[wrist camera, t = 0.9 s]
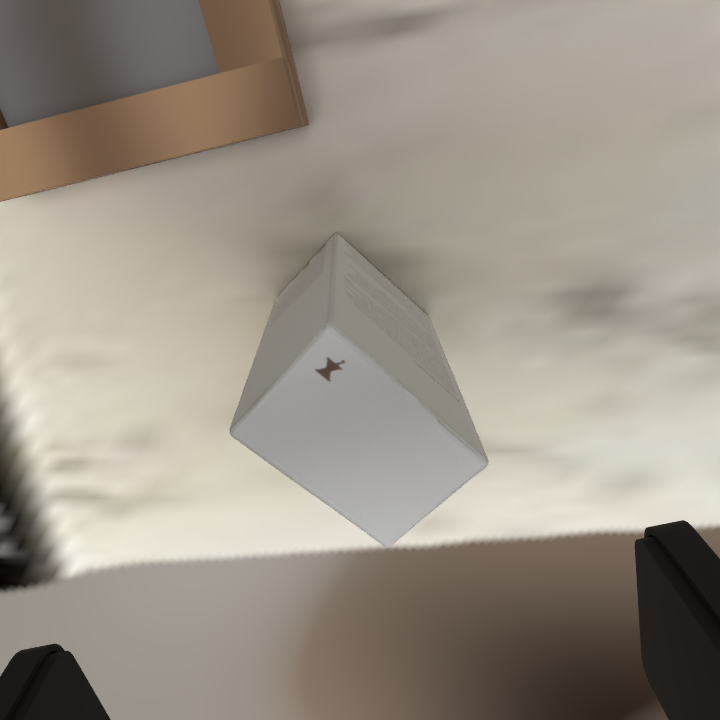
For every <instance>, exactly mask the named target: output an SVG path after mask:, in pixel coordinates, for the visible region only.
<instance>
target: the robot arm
mask: <svg viewBox="0 0 720 720" xmlns="http://www.w3.org/2000/svg"><path fill="white" fill-rule="evenodd" d="M635 556H636V573H637V591H638V606H639V624H640V638H641V639H640V640H641V656H642V664H643V667H644V671H645V674H646V676H647V679H648V681H649V683H650V686H651V687H652V689H653V691H654V693H655V695H656V697H657V699H658V700H659V702H660V704H661V706H662V708H663V709H664V712H665V713H666V715H667V717H668V719H669V720H720V559H719V557H718V556H717V555H716V554H715V553H714V552H713V550H712V549H711V548H710V547H709V546H708V545H707V543H706V542H705V541H704V540H703V539H702V537H701V536H700V535H699V534H698V533H697V532H696V530H695V529H694V528H693V527H692V526H691V525H690V524H689V523H688V522H686V521H684V520H683V521H677V522H672V523H667V524H662V525H657V526H652V527H648V528H646V529H645V533H644V538H643V539H637V540H636V542H635ZM0 720H110V718H109V716H108V714H107V713H106V711H105V709H104V708H103V706H102V704H101V702H100V701H99V699H98V697H97V696H96V694H95V692H94V691H93V689H92V687H91V685H90V683H89V682H88V680H87V678H86V677H85V675H84V673H83V672H82V670H81V668H80V666H79V665H78V663H77V661H76V659H75V658H74V656H73V655H72V654H71V652H69V651H64V649H63V648H62V647H61V646H60V645H58V644H50V645H45V646H40V647H35V648H30V649H25V650H21V651H19V652H18V653H16V654H15V655H14V656H13V658H12V659H11V660H10V662H9V664H8V665H7V667H6V668H5V670H4V672H3V673H2V675H1V676H0Z"/></svg>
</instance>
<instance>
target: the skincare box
mask: <svg viewBox="0 0 720 720" xmlns="http://www.w3.org/2000/svg"><path fill="white" fill-rule="evenodd" d="M230 435H231V436H232V437H233V438H235V439H236V440H238V441H239V442H240V443H242V444H243V445H245V446H246V447H247V448H249V449H250V450H251V451H253V452H254V453H256V454H257V455H258V456H260V457H261V458H262V459H264V460H265V461H267V462H268V463H269V464H271V465H272V466H273V467H275V468H276V469H278V470H279V471H280V472H282V473H283V474H285V475H286V476H287V477H289V478H290V479H292V480H293V481H294V482H296V483H297V484H299V485H300V486H301V487H303V488H304V489H306V490H307V491H308V492H310V493H311V494H313V495H314V496H316V497H317V498H318V499H320V500H321V501H323V502H324V503H326V504H327V505H328V506H330V507H331V508H332V509H334V510H335V511H337V512H338V513H339V514H341V515H342V516H344V517H345V518H346V519H348V520H349V521H350V522H352V523H353V524H355V525H356V526H358V527H359V528H360V529H362V530H363V531H364V532H366V533H367V534H368V535H370V536H371V537H372V538H374V539H375V540H377V541H378V542H379V543H381V544H382V545H383V546H384V547H386V548H389V547H391V546H392V545H393V544H394V543H395V542H396V541H397V540H398V539H399V538H401V537H402V536H403V535H404V534H405V533H406V532H408V531H409V530H410V529H411V528H412V527H413V526H415V525H416V524H417V523H418V522H419V521H421V520H422V519H423V518H424V517H425V516H427V515H428V514H429V513H430V512H432V511H433V510H434V509H435V508H436V507H438V506H439V505H440V504H441V503H442V502H444V501H445V500H446V499H447V498H448V497H450V496H451V495H452V494H453V493H454V492H456V491H457V490H458V489H459V488H460V487H462V486H463V485H464V484H465V483H467V482H468V481H469V480H470V479H471V478H473V477H474V476H475V475H476V474H478V473H479V472H480V471H482V470H483V469H484V468H485V467H486V466H487V465H488V458H487V456H486V453H485V451H484V449H483V446H482V444H481V441H480V439H479V436H478V434H477V432H476V429H475V426H474V424H473V421H472V419H471V417H470V414H469V412H468V409H467V407H466V404H465V402H464V400H463V397H462V395H461V393H460V390H459V388H458V385H457V383H456V380H455V378H454V375H453V373H452V371H451V368H450V366H449V363H448V361H447V359H446V356H445V354H444V351H443V349H442V347H441V344H440V342H439V339H438V337H437V334H436V332H435V329H434V327H433V324H432V322H431V320H430V318H429V317H428V316H427V315H426V314H425V313H424V312H423V311H422V310H421V309H420V308H418V307H417V306H416V305H415V304H414V303H413V302H412V301H411V300H410V299H409V298H408V297H407V296H405V295H404V294H403V293H402V292H401V291H400V290H399V289H398V288H397V287H396V286H395V285H393V284H392V283H391V282H390V281H389V280H388V279H387V278H386V277H385V276H384V275H383V274H382V273H380V272H379V271H378V270H377V269H376V268H375V267H374V266H373V265H372V264H371V263H370V262H368V261H367V260H366V259H365V258H364V257H363V256H362V255H361V254H360V253H359V252H357V251H356V250H355V249H354V248H353V247H352V246H351V245H350V244H349V243H348V242H346V241H345V240H344V239H343V238H342V237H341V236H340V235H339V234H338V233H335V234H334V235H333V236H332V237H331V238H330V239H329V240H328V241H327V243H326V244H325V245H324V246H323V247H322V248H321V249H320V250H319V251H318V252H317V253H316V254H315V256H314V257H313V258H312V259H311V260H310V261H309V262H308V263H307V264H306V265H305V267H304V268H303V269H302V270H301V271H300V272H299V274H298V275H297V276H296V277H295V278H294V279H293V280H292V281H291V283H290V284H289V285H288V286H287V287H286V288H285V289H284V290H283V292H282V293H281V294H280V295H279V296H278V297H277V298H276V300H275V303H274V306H273V309H272V311H271V314H270V316H269V319H268V322H267V325H266V328H265V331H264V333H263V336H262V339H261V342H260V345H259V348H258V350H257V353H256V356H255V359H254V362H253V365H252V368H251V370H250V373H249V376H248V379H247V381H246V384H245V387H244V390H243V393H242V396H241V399H240V402H239V404H238V407H237V410H236V412H235V415H234V418H233V421H232V424H231V427H230Z"/></svg>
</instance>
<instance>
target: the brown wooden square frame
mask: <svg viewBox="0 0 720 720" xmlns="http://www.w3.org/2000/svg"><path fill="white" fill-rule="evenodd" d="M306 125H309V122H308V118H307V114H306V110H305V105H304V101H303V97H302V93H301V89H300V85H299V81H298V77H297V73H296V69H295V65H294V60H293V56H292V52H291V48H290V44H289V40H288V36H287V32H286V28H285V24H284V20H283V16H282V11H281V7H280V3H279V0H0V201H5V200H9V199H13V198H17V197H22V196H26V195H30V194H34V193H38V192H42V191H46V190H50V189H54V188H58V187H62V186H66V185H70V184H74V183H78V182H82V181H86V180H90V179H94V178H98V177H102V176H106V175H110V174H114V173H118V172H122V171H126V170H130V169H134V168H138V167H142V166H146V165H150V164H154V163H158V162H162V161H166V160H170V159H174V158H178V157H182V156H186V155H190V154H194V153H198V152H202V151H206V150H210V149H214V148H218V147H222V146H226V145H230V144H234V143H238V142H242V141H246V140H250V139H254V138H258V137H262V136H266V135H270V134H274V133H278V132H282V131H286V130H290V129H294V128H298V127H302V126H306Z"/></svg>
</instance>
